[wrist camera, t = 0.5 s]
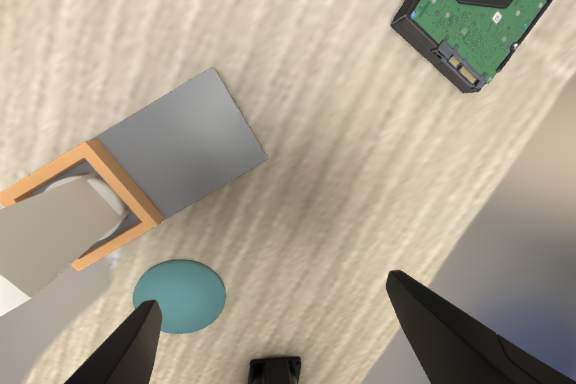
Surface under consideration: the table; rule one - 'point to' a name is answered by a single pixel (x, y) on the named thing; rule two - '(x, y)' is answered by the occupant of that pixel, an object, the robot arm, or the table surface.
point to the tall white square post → (53, 233)
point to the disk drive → (467, 35)
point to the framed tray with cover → (158, 158)
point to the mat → (182, 295)
